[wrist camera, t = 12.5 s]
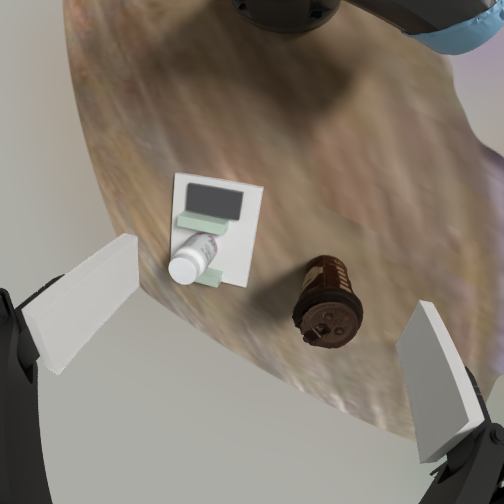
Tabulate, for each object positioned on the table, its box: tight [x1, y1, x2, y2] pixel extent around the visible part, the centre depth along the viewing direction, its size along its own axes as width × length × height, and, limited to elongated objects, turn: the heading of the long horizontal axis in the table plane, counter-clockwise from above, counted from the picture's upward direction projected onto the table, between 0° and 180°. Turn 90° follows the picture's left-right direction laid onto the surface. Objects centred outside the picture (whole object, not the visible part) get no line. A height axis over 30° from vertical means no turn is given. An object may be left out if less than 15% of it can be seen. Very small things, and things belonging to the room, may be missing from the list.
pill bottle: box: [169, 232, 218, 285], centre depth 40 cm, size 5×5×8 cm
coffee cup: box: [292, 255, 363, 349], centre depth 37 cm, size 9×8×13 cm
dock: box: [171, 172, 264, 287], centre depth 42 cm, size 16×13×4 cm
